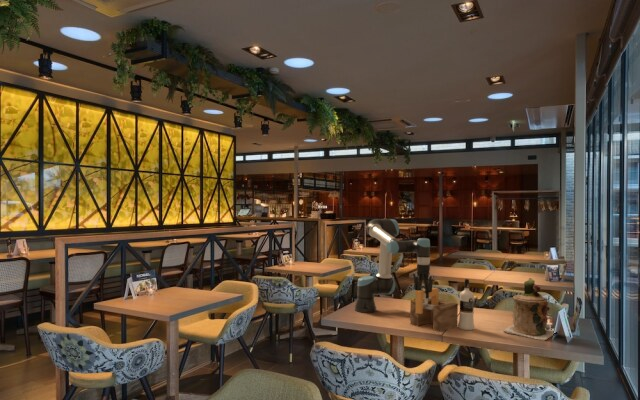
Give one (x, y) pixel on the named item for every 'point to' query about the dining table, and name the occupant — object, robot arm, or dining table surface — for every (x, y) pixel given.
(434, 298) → the wooden u-shaped block
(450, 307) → the dark wooden box
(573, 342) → the dining table surface
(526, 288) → the cookie jar
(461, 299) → the vodka
